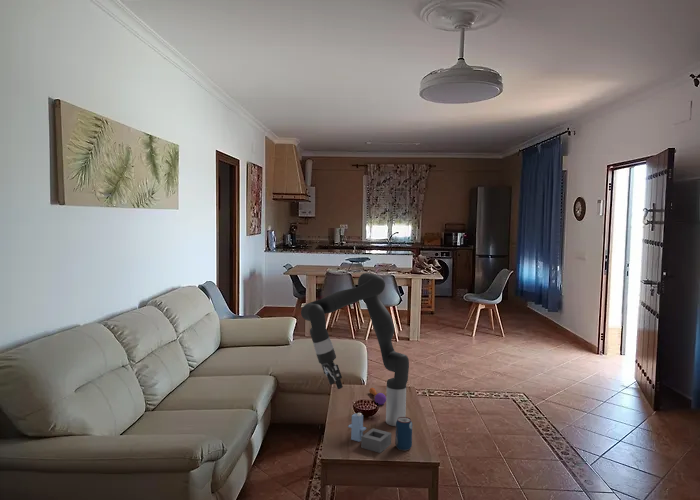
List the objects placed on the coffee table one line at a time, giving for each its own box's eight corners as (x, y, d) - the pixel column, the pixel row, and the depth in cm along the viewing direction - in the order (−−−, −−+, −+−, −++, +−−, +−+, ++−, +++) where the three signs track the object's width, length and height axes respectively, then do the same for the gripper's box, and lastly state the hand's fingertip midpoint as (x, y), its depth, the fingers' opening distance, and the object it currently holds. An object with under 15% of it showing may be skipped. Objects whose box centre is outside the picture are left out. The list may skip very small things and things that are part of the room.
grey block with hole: (372, 439, 213) (372, 428, 213) (391, 444, 208) (391, 433, 208) (361, 447, 204) (361, 436, 204) (380, 453, 200) (380, 441, 199)
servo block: (347, 438, 213) (348, 412, 212) (351, 436, 215) (351, 410, 215) (362, 442, 209) (363, 416, 208) (366, 440, 212) (366, 413, 211)
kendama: (378, 386, 273) (388, 395, 253) (376, 396, 272) (386, 406, 253) (368, 384, 272) (377, 393, 252) (366, 395, 271) (375, 405, 252)
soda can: (415, 447, 205) (415, 419, 205) (404, 452, 200) (405, 424, 200) (402, 442, 210) (403, 414, 210) (391, 447, 205) (392, 419, 205)
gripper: (339, 348, 197) (351, 386, 198) (326, 343, 210) (337, 378, 211) (322, 356, 194) (334, 393, 195) (310, 350, 207) (322, 386, 208)
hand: (336, 386), depth 203 cm, fingers open, 8 cm apart
